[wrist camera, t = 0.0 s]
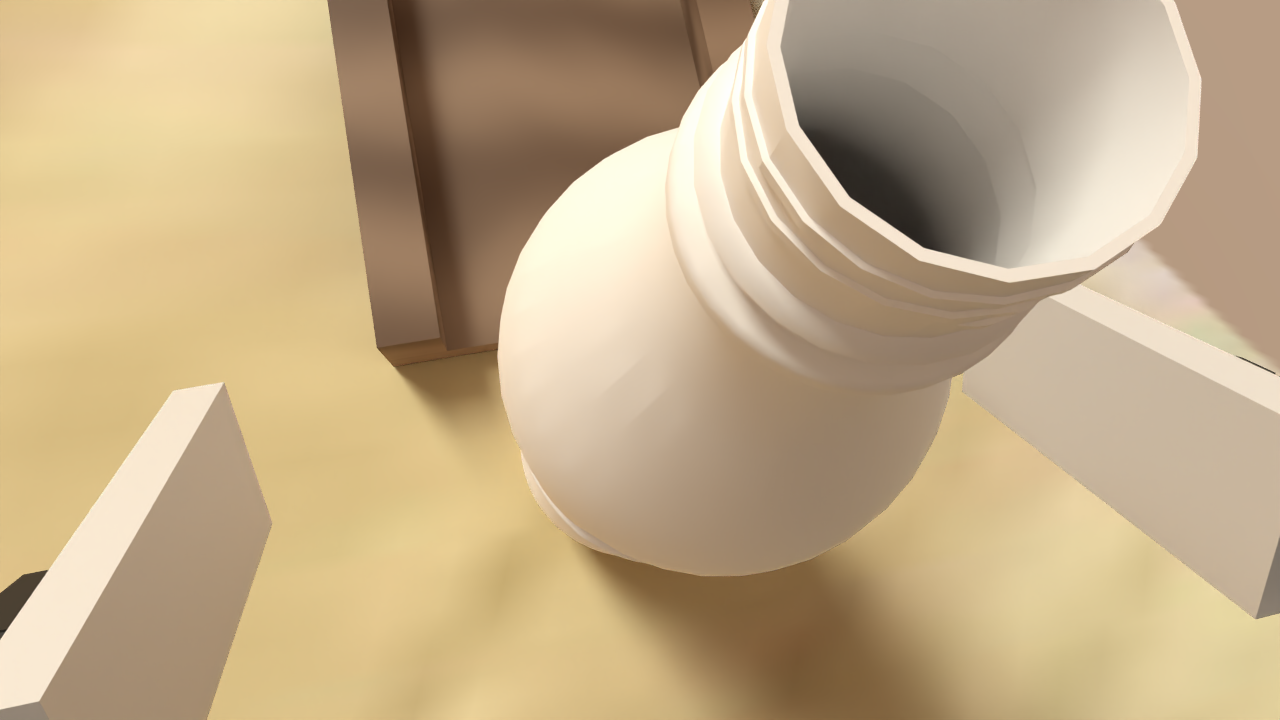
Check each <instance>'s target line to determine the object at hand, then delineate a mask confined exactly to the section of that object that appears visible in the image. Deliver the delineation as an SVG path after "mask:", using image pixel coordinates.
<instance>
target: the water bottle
mask: <svg viewBox="0 0 1280 720" xmlns="http://www.w3.org/2000/svg"><path fill="white" fill-rule="evenodd" d="M1201 81H1202V79H1201V76H1200V74H1199V71H1198V68H1197V65H1196V62H1195V59H1194V56H1193V53H1192V50H1191V47H1190V44H1189V41H1188V38H1187V36H1186V33H1185V30H1184V27H1183V24H1182V21H1181V18H1180V15H1179V12H1178V9H1177V6H1176V3H1175V2H1174V0H764V2H763V4H762V6H761V8H760V10H759V12H758V14H757V16H756V19H755V21H754V23H753V25H752V27H751V29H750V31H749V33H748V36H747V38H746V39H745V41H744V42H743V44H742V45H741V46H740V47H739V48H738V49H737V50H735V51H734V52H733V53H732V54H731V56H730V57H729V59H728V60H727V61H726V62H725V63H724V64H722V65H721V66H720V67H719V68H718V69H717V70H716V71H715V72H714V73H713V75H712V76H711V77H710V78H709V79H708V80H707V81H706V82H705V84H704V85H703V86H702V87H701V88H700V89H699V90H698V92H697V94H696V95H695V97H694V99H693V100H692V102H691V104H690V106H689V107H688V109H687V111H686V112H685V114H684V116H683V118H682V120H681V123H680V126H679V128H675V129H672V130H669V131H665V132H662V133H658V134H655V135H652V136H648V137H646V138H644V139H642V140H640V141H638V142H636V143H634V144H632V145H630V146H628V147H626V148H624V149H622V150H620V151H618V152H616V153H614V154H612V155H610V156H609V157H607V158H605V159H603V160H602V161H601V162H599V163H598V164H597V165H595V166H594V167H593V168H592V169H590V170H589V171H588V172H586V173H585V174H584V175H582V176H581V177H580V178H578V179H577V180H576V181H574V182H573V183H572V184H571V185H570V186H569V188H568V189H567V190H566V191H565V192H564V193H563V194H562V195H561V196H560V197H559V198H558V200H557V201H556V202H555V203H554V204H553V205H552V206H551V207H550V208H549V209H548V211H547V212H546V213H545V215H544V216H543V218H542V219H541V220H540V222H539V224H538V225H537V227H536V228H535V230H534V232H533V233H532V235H531V237H530V238H529V240H528V241H527V243H526V245H525V246H524V248H523V249H522V251H521V253H520V255H519V258H518V261H517V263H516V266H515V269H514V271H513V274H512V276H511V279H510V282H509V284H508V287H507V290H506V295H505V300H504V304H503V309H502V314H501V320H500V330H499V343H498V356H497V357H498V367H499V377H500V386H501V396H502V400H503V403H504V406H505V410H506V413H507V416H508V420H509V423H510V427H511V430H512V433H513V436H514V438H515V440H516V442H517V444H518V446H519V448H520V450H521V457H522V463H523V468H524V473H525V477H526V479H527V482H528V485H529V488H530V490H531V492H532V494H533V496H534V498H535V500H536V502H537V503H538V505H539V507H540V508H541V509H542V511H543V512H544V513H545V515H546V516H547V517H548V518H549V519H550V520H551V521H552V522H553V523H554V524H555V525H556V526H557V528H559V529H560V530H561V531H563V532H564V533H565V534H567V535H568V536H569V537H571V538H572V539H573V540H575V541H577V542H579V543H581V544H583V545H585V546H587V547H589V548H591V549H594V550H597V551H600V552H603V553H606V554H611V555H616V556H619V557H622V558H625V559H628V560H632V561H635V562H641V563H646V564H650V565H653V566H656V567H658V568H661V569H665V570H671V571H676V572H682V573H687V574H693V575H698V576H746V575H752V574H758V573H764V572H770V571H774V570H778V569H781V568H784V567H788V566H791V565H794V564H798V563H801V562H804V561H808V560H811V559H813V558H815V557H817V556H819V555H820V554H822V553H824V552H826V551H828V550H830V549H832V548H834V547H836V546H838V545H840V544H841V543H843V542H845V541H847V540H848V539H849V538H851V537H852V536H853V535H854V534H856V533H857V532H858V531H859V530H861V529H862V528H863V527H864V526H866V525H867V524H868V523H869V522H871V521H872V520H873V519H874V518H876V517H877V516H878V515H879V514H881V513H882V512H883V511H884V510H886V509H887V508H888V507H889V505H890V504H891V503H892V502H893V501H894V500H895V498H896V497H897V496H898V495H899V494H900V492H901V491H902V490H903V489H904V488H905V487H906V485H907V484H908V483H909V482H910V481H911V479H912V478H913V476H914V475H915V473H916V471H917V469H918V468H919V466H920V464H921V462H922V460H923V459H924V457H925V455H926V453H927V452H928V450H929V448H930V446H931V444H932V442H933V440H934V438H935V436H936V434H937V431H938V428H939V425H940V422H941V420H942V417H943V414H944V411H945V408H946V405H947V402H948V399H949V393H950V386H951V379H952V377H954V376H957V375H959V374H962V373H963V372H965V371H966V370H968V369H969V368H971V367H972V366H974V365H976V364H977V363H979V362H980V361H982V360H983V359H985V358H986V357H988V356H989V355H990V354H991V353H992V352H993V351H994V350H995V349H996V348H997V347H998V346H999V345H1000V344H1001V343H1002V342H1003V341H1004V340H1005V339H1006V338H1007V337H1008V336H1009V335H1010V334H1011V333H1012V332H1013V331H1014V330H1015V328H1016V327H1017V325H1018V324H1019V323H1020V322H1021V321H1022V320H1023V318H1024V317H1025V316H1026V315H1027V314H1028V313H1029V312H1030V311H1031V310H1032V309H1033V308H1034V307H1035V305H1036V304H1037V303H1038V302H1039V301H1041V300H1043V299H1045V298H1047V297H1049V296H1053V295H1058V294H1062V293H1065V292H1067V291H1069V290H1071V289H1073V288H1075V287H1076V286H1078V285H1079V284H1081V283H1082V282H1084V281H1085V280H1087V279H1088V278H1090V277H1091V276H1093V275H1094V274H1096V273H1097V272H1099V271H1100V270H1102V269H1103V268H1105V267H1106V266H1108V265H1109V264H1111V263H1112V262H1114V261H1115V260H1117V259H1118V258H1120V257H1121V256H1123V255H1124V254H1126V253H1127V252H1128V251H1129V250H1130V248H1131V247H1132V245H1133V244H1134V243H1135V242H1136V241H1137V240H1139V239H1140V238H1142V237H1143V236H1144V235H1146V234H1147V233H1149V232H1150V231H1152V230H1153V229H1155V228H1156V227H1158V226H1159V225H1160V224H1161V223H1162V221H1163V219H1164V217H1165V215H1166V213H1167V212H1168V210H1169V208H1170V206H1171V204H1172V202H1173V201H1174V199H1175V197H1176V195H1177V193H1178V192H1179V190H1180V188H1181V186H1182V184H1183V182H1184V181H1185V179H1186V177H1187V175H1188V173H1189V171H1190V170H1191V168H1192V166H1193V164H1194V162H1195V160H1196V159H1197V151H1198V134H1199V116H1200V99H1201Z"/></svg>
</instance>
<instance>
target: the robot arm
mask: <svg viewBox="0 0 1280 720" xmlns="http://www.w3.org/2000/svg"><path fill="white" fill-rule="evenodd" d="M962 392H963V393H965V394H966V395H967V396H968V397H970V398H971V399H972V400H974V401H975V402H976V403H977V404H979V405H980V406H981V407H983V408H984V409H985V410H986V411H988V412H989V413H990V414H992V415H993V416H994V417H995V418H997V419H998V420H999V421H1001V422H1002V423H1003V424H1005V425H1006V426H1007V427H1008V428H1010V429H1011V430H1012V431H1014V432H1015V433H1016V434H1017V435H1019V436H1020V437H1021V438H1023V439H1024V440H1025V441H1026V442H1028V443H1029V444H1030V445H1032V446H1033V447H1034V448H1035V449H1037V450H1038V451H1039V452H1041V453H1042V454H1043V455H1044V456H1046V457H1047V458H1048V459H1050V460H1051V461H1052V462H1053V463H1055V464H1056V465H1057V466H1059V467H1060V468H1061V469H1062V470H1064V471H1065V472H1066V473H1068V474H1069V475H1070V476H1071V477H1073V478H1074V479H1075V480H1077V481H1078V482H1079V483H1080V484H1082V485H1083V486H1084V487H1086V488H1087V489H1088V490H1090V491H1091V492H1092V493H1093V494H1095V495H1096V496H1097V497H1099V498H1100V499H1101V500H1102V501H1104V502H1105V503H1106V504H1108V505H1109V506H1110V507H1111V508H1113V509H1114V510H1115V511H1117V512H1118V513H1119V514H1120V515H1122V516H1123V517H1124V518H1126V519H1127V520H1128V521H1129V522H1131V523H1132V524H1133V525H1135V526H1136V527H1137V528H1138V529H1140V530H1141V531H1142V532H1144V533H1145V534H1146V535H1147V536H1149V537H1150V538H1151V539H1153V540H1154V541H1155V542H1156V543H1158V544H1159V545H1160V546H1162V547H1163V548H1164V549H1165V550H1167V551H1168V552H1169V553H1171V554H1172V555H1173V556H1175V557H1176V558H1177V559H1178V560H1180V561H1181V562H1182V563H1184V564H1185V565H1186V566H1187V567H1189V568H1190V569H1191V570H1193V571H1194V572H1195V573H1196V574H1198V575H1199V576H1200V577H1202V578H1203V579H1204V580H1205V581H1207V582H1208V583H1209V584H1211V585H1212V586H1213V587H1214V588H1216V589H1217V590H1218V591H1220V592H1221V593H1222V594H1223V595H1225V596H1226V597H1227V598H1229V599H1230V600H1231V601H1232V602H1234V603H1235V604H1236V605H1238V606H1239V607H1240V608H1241V609H1243V610H1244V611H1245V612H1247V613H1248V614H1249V615H1250V616H1252V617H1253V618H1254V619H1259V618H1263V617H1267V616H1271V615H1275V614H1279V613H1280V376H1277V375H1275V373H1274V372H1272V371H1270V370H1268V369H1266V368H1264V367H1261V366H1259V365H1257V364H1255V363H1253V362H1251V361H1248V360H1246V359H1244V358H1241V357H1238V356H1234V355H1232V354H1229V353H1227V352H1225V351H1223V350H1221V349H1219V348H1216V347H1214V346H1212V345H1210V344H1208V343H1206V342H1203V341H1201V340H1199V339H1197V338H1195V337H1193V336H1190V335H1188V334H1186V333H1184V332H1182V331H1180V330H1177V329H1175V328H1173V327H1171V326H1169V325H1167V324H1164V323H1162V322H1160V321H1158V320H1156V319H1154V318H1151V317H1149V316H1147V315H1145V314H1143V313H1141V312H1138V311H1136V310H1134V309H1132V308H1130V307H1128V306H1125V305H1123V304H1121V303H1119V302H1117V301H1115V300H1112V299H1110V298H1108V297H1106V296H1104V295H1102V294H1099V293H1097V292H1095V291H1093V290H1091V289H1089V288H1086V287H1084V286H1082V285H1080V284H1079V285H1078V286H1076V287H1075V288H1073V289H1071V290H1069V291H1067V292H1065V293H1062V294H1058V295H1053V296H1049V297H1047V298H1045V299H1043V300H1041V301H1039V302H1038V303H1037V304H1036V305H1035V307H1034V308H1033V309H1032V310H1031V311H1030V312H1029V313H1028V314H1027V315H1026V316H1025V317H1024V318H1023V320H1022V321H1021V322H1020V323H1019V324H1018V325H1017V327H1016V328H1015V330H1014V331H1013V332H1012V333H1011V334H1010V335H1009V336H1008V337H1007V338H1006V339H1005V340H1004V341H1003V342H1002V343H1001V344H1000V345H999V346H998V347H997V348H996V349H995V350H994V351H993V352H992V353H991V354H990V355H989V356H988V357H986V358H985V359H983V360H982V361H980V362H979V363H977V364H976V365H974V366H972V367H971V368H969V369H968V370H966V371H965V372H964V375H963V387H962ZM271 526H272V521H271V518H270V515H269V512H268V509H267V506H266V503H265V500H264V497H263V494H262V491H261V489H260V486H259V483H258V480H257V477H256V474H255V471H254V468H253V465H252V462H251V459H250V456H249V453H248V451H247V448H246V445H245V442H244V439H243V436H242V433H241V430H240V427H239V424H238V421H237V418H236V415H235V413H234V410H233V407H232V404H231V401H230V398H229V395H228V392H227V389H226V386H225V383H224V382H222V383H216V384H210V385H204V386H198V387H192V388H186V389H180V390H174V391H173V392H172V393H171V395H170V396H169V398H168V399H167V400H166V402H165V403H164V405H163V406H162V408H161V409H160V411H159V412H158V413H157V415H156V416H155V418H154V419H153V421H152V422H151V423H150V425H149V426H148V428H147V429H146V431H145V432H144V434H143V435H142V436H141V438H140V439H139V441H138V442H137V444H136V445H135V447H134V448H133V449H132V451H131V452H130V454H129V455H128V457H127V458H126V459H125V461H124V462H123V464H122V465H121V467H120V468H119V470H118V471H117V472H116V474H115V475H114V477H113V478H112V480H111V481H110V482H109V484H108V485H107V487H106V488H105V490H104V491H103V493H102V494H101V495H100V497H99V498H98V500H97V501H96V503H95V504H94V505H93V507H92V508H91V510H90V511H89V513H88V514H87V516H86V517H85V518H84V520H83V521H82V523H81V524H80V526H79V527H78V528H77V530H76V531H75V533H74V534H73V536H72V537H71V539H70V540H69V541H68V543H67V544H66V546H65V547H64V549H63V550H62V552H61V553H60V554H59V556H58V557H57V559H56V560H55V562H54V563H53V564H52V566H51V567H50V569H49V570H46V571H40V572H35V573H30V574H25V575H22V576H21V577H20V578H19V579H17V580H16V581H15V582H14V583H12V584H11V585H10V586H9V587H7V588H6V589H5V590H4V591H2V592H1V593H0V720H207V717H208V714H209V711H210V708H211V705H212V702H213V699H214V696H215V693H216V690H217V687H218V684H219V681H220V678H221V675H222V672H223V669H224V666H225V663H226V660H227V657H228V654H229V651H230V648H231V645H232V642H233V639H234V636H235V633H236V630H237V627H238V624H239V621H240V618H241V615H242V612H243V609H244V606H245V603H246V600H247V597H248V594H249V592H250V589H251V586H252V583H253V580H254V577H255V574H256V571H257V568H258V565H259V562H260V559H261V556H262V553H263V550H264V547H265V544H266V541H267V538H268V535H269V532H270V529H271Z"/></svg>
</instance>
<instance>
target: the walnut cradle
mask: <svg viewBox="0 0 1280 720" xmlns="http://www.w3.org/2000/svg"><path fill="white" fill-rule="evenodd" d="M328 7H329V14H330V21H331V28H332V35H333V42H334V49H335V56H336V63H337V70H338V77H339V84H340V91H341V98H342V106H343V113H344V120H345V127H346V134H347V141H348V148H349V155H350V162H351V169H352V176H353V183H354V190H355V197H356V204H357V211H358V218H359V225H360V232H361V239H362V246H363V253H364V260H365V267H366V274H367V281H368V288H369V295H370V302H371V309H372V316H373V323H374V330H375V337H376V344H377V348H378V350H379V351H380V352H381V353H382V354H383V355H384V356H385V357H386V359H387V360H388V361H389V362H390V363H391V364H392V365H393V366H400V365H406V364H412V363H418V362H424V361H430V360H436V359H442V358H448V357H454V356H460V355H466V354H472V353H478V352H484V351H490V350H496V349H498V343H499V330H500V320H501V314H502V309H503V304H504V300H505V295H506V290H507V287H508V284H509V282H510V279H511V276H512V274H513V271H514V269H515V266H516V263H517V261H518V258H519V255H520V253H521V251H522V249H523V248H524V246H525V245H526V243H527V241H528V240H529V238H530V237H531V235H532V233H533V232H534V230H535V228H536V227H537V225H538V224H539V222H540V220H541V219H542V218H543V216H544V215H545V213H546V212H547V211H548V209H549V208H550V207H551V206H552V205H553V204H554V203H555V202H556V201H557V200H558V198H559V197H560V196H561V195H562V194H563V193H564V192H565V191H566V190H567V189H568V188H569V186H570V185H571V184H572V183H573V182H574V181H576V180H577V179H578V178H580V177H581V176H582V175H584V174H585V173H586V172H588V171H589V170H590V169H592V168H593V167H594V166H595V165H597V164H598V163H599V162H601V161H602V160H603V159H605V158H607V157H609V156H610V155H612V154H614V153H616V152H618V151H620V150H622V149H624V148H626V147H628V146H630V145H632V144H634V143H636V142H638V141H640V140H642V139H644V138H646V137H648V136H652V135H655V134H658V133H662V132H665V131H669V130H672V129H675V128H679V126H680V123H681V120H682V118H683V116H684V114H685V112H686V111H687V109H688V107H689V106H690V104H691V102H692V100H693V99H694V97H695V95H696V94H697V92H698V90H699V89H700V88H701V87H702V86H703V85H704V84H705V82H706V81H707V80H708V79H709V78H710V77H711V76H712V75H713V73H714V72H715V71H716V70H717V69H718V68H719V67H720V66H721V65H722V64H724V63H725V62H726V61H727V60H728V59H729V57H730V56H731V54H732V53H733V52H734V51H735V50H737V49H738V48H739V47H740V46H741V45H742V44H743V42H744V41H745V39H746V38H747V36H748V33H749V31H750V29H751V27H752V25H753V23H754V21H755V20H754V16H753V12H752V8H751V4H750V0H328Z"/></svg>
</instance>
